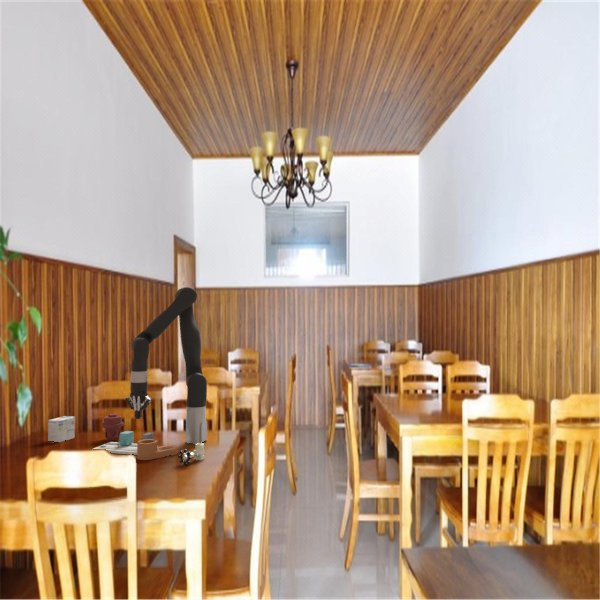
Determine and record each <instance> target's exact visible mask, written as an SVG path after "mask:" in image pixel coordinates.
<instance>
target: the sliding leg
mask: <svg viewBox="0 0 600 600" xmlns="http://www.w3.org/2000/svg"><path fill="white" fill-rule="evenodd" d="M134 436H135V432H134V431H131V430H125V431H123V432H122V431H121V432H120V436H119V442H118V443H117V446H118V448H120V445H129V444H132V443H133V444H135V443H134V440H135V439H134V438H135V437H134Z"/></svg>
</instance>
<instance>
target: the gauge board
mask: <svg viewBox="0 0 600 600" xmlns="http://www.w3.org/2000/svg"><path fill="white" fill-rule="evenodd" d="M117 443H118V442H116V441H115V442H114V441H108V442H107V443H104V444H102V445H99V446H96V447H94V448H92V450H93V449H106V450H108V451H109V452H111V453H110V454H117V455H118V454H119V455H130V454H134V455H133V456H137V443H132V444H129V445H120V448H118V446H117Z"/></svg>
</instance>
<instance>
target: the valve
mask: <svg viewBox="0 0 600 600" xmlns="http://www.w3.org/2000/svg"><path fill="white" fill-rule="evenodd" d="M194 445H195V446H194V448H195V449H193V450H192V451H188V449H187V448H184V449H183V450H180V451H179V455H178V456H177V458H179V459H180V460H179V463H180V464H182V465H183V466H184V465H185V466H187V465H191V464H192V462H191V460H193V458H194V460H195V459H196V460H195V461H197V460H199V461H203V460H202V459H205V453H206V452H205V442H204V443H197V444H194Z"/></svg>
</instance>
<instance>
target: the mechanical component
mask: <svg viewBox="0 0 600 600" xmlns="http://www.w3.org/2000/svg"><path fill="white" fill-rule="evenodd" d="M124 423H125V422H124V421H123V415H120V414H118V413H110V414H109V413H108V415H106V416H104V417H103V422H102V423H101V428H103V429H104V438H105V440H106V442H112V441H120V433H121V427H123V426H124V425H125V424H124Z"/></svg>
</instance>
